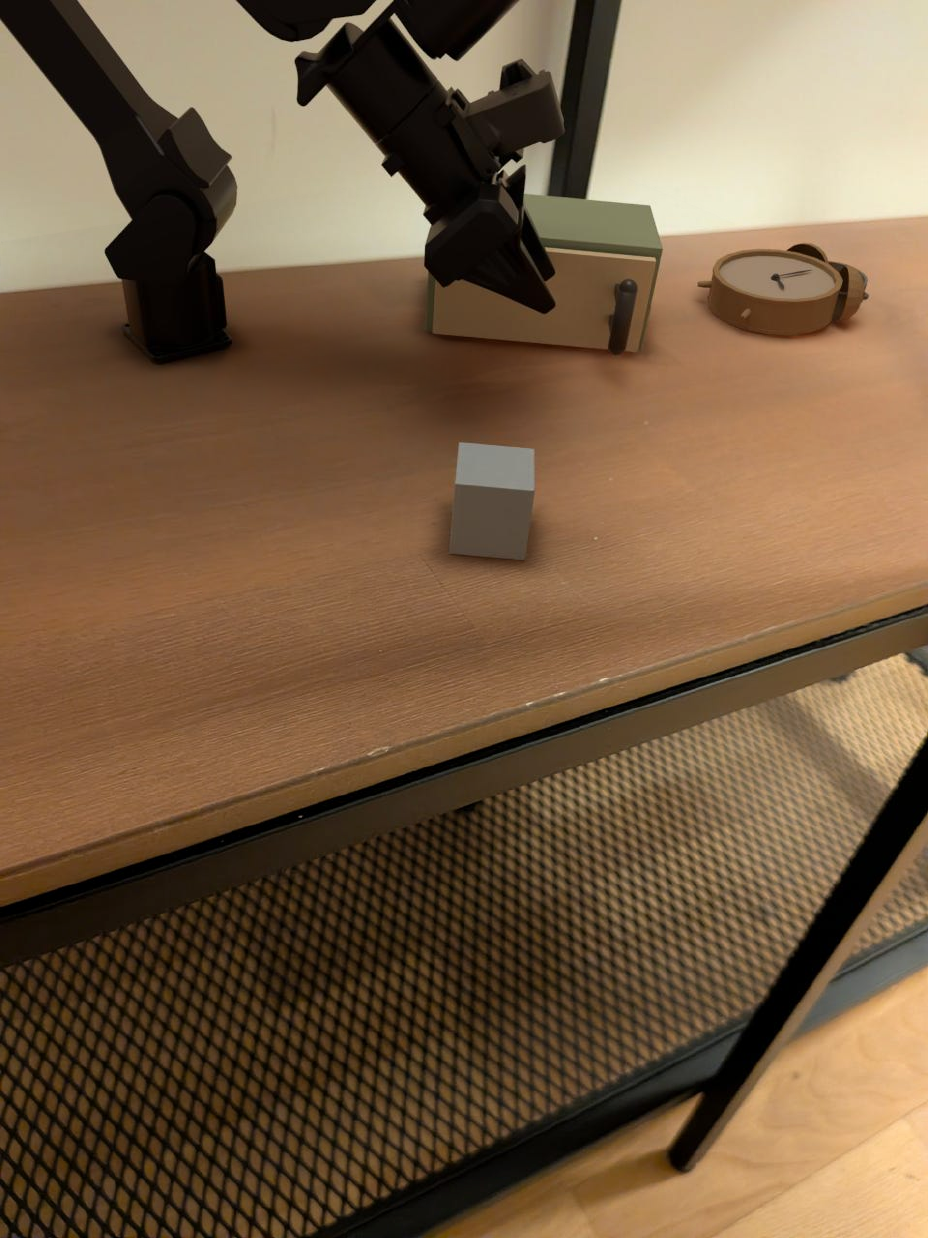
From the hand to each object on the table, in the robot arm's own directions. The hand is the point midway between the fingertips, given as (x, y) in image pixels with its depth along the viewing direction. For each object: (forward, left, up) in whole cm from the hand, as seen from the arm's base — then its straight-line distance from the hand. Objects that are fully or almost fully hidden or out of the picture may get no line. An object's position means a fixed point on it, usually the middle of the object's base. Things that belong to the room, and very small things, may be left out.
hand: (550, 292), depth 70 cm
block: (-16, -14, -7) cm, 23 cm away
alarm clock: (+29, -1, -7) cm, 30 cm away
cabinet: (+7, +9, -7) cm, 13 cm away
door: (+2, +2, -6) cm, 7 cm away
